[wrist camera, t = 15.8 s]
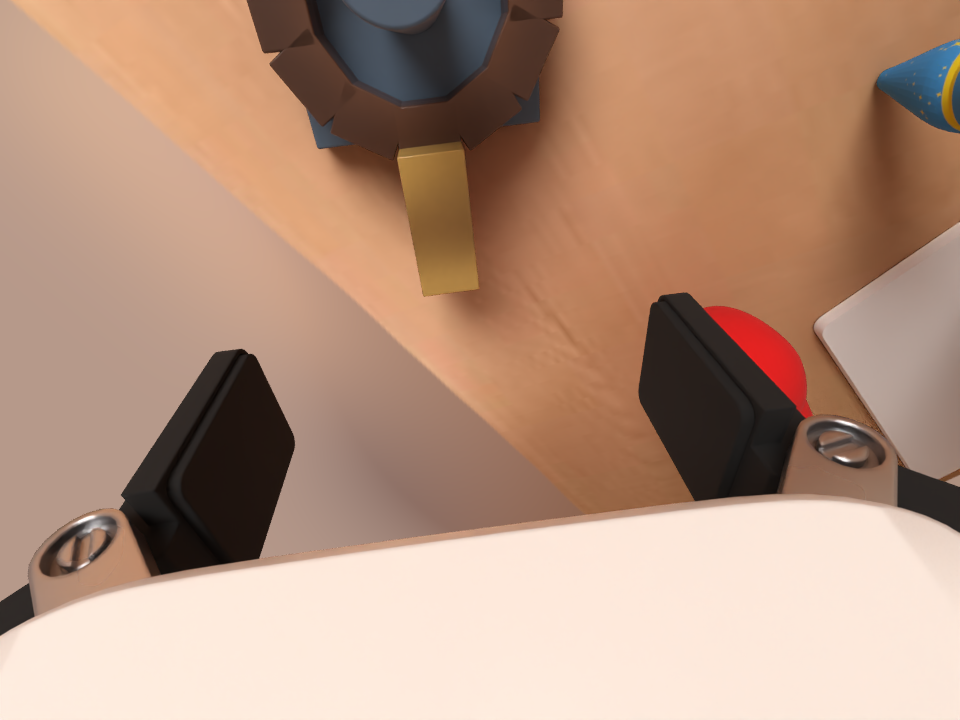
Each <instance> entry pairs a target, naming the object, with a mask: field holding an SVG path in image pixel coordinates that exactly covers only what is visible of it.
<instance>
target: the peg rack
mask: <svg viewBox="0 0 960 720" xmlns="http://www.w3.org/2000/svg"><path fill="white" fill-rule="evenodd" d="M316 2H317V6H318V10H319V14H320V19H321V23H322V27H323V31H324V35H325V36H326V38H327V39H328V40H329V42H330V43H331V44H332V46H333V47H334V48H335V50H336V51H337V52H338V54H339V55H340V56H341V58H342V59H343V60H344V61H345V63H346V64H347V65H348V67H349V68H350V69H351V71H352V72H353V73H354V75H355V76H356V77H357V79H358V80H359V81H361V82H363V83H365V84H367V85H369V86H372V87H374V88H376V89H378V90H380V91H382V92H384V93H386V94H388V95H390V96H392V97H394V98H397V99H399V100H401V101H410V100H418V99H426V98H434V97H442V96H447V95H448V94H449V93H450V92H451V91H452V90H454V89H455V88H456V87H457V86H458V85H459V84H461V83H462V82H463V81H464V80H465V79H466V78H467V77H469V76H470V75H471V74H472V73H473V72H474V71H476V70H477V69H478V68H479V67H480V66H481V65H482V63H483V61H484V58H485V55H486V53H487V50H488V48H489V45H490V42H491V40H492V37H493V34H494V32H495V29H496V26H497V24H498V21H499V19H500V16H501V1H500V0H316ZM514 96H515V97H516V99H517V101H518V103H519V104H520V106H521V108H522V110H521V111H519V112H518V113H517V114H516V115H514V116H513V117H512V118H511V119H509V120H508V121H507V122H506V123H504V124H503V125H502V126H509V125H518V124H526V123H534V122H539V121H540V99H539V77H538V80H537V82H536V84H535V87H534V89H533V91H532V93H531V96H530V98H529V100H528V101H526V100H524V99H522V98H520V97H518V96H516V95H514ZM307 112H308V116H309V119H310V123H311V127H312V130H313V134H314V137H315V141H316V144H317V147H318V149H323V148H331V147H339V146H348V145H356V144H354V143H351V142H349V141H347V140H345V139H342V138H340V137H338V136H335V135H333V134H331V128H332V124H333V119H334V118H333V119H332V120H330V121H329V122H328V123H327V124H326V125H325V126H323V127H322V126H321V125H320V124H319V123H318V121H317V120H316V119H315V118H314V117H313V116H312V114H311V113H310V112H309V111H308V110H307Z"/></svg>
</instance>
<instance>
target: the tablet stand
mask: <svg viewBox="0 0 960 720" xmlns="http://www.w3.org/2000/svg"><path fill="white" fill-rule="evenodd" d="M814 331H815V333H816V334H817V336H818V337H819V339H820V340H821V342H822V343H823V345H824V346H825V348H826V349H827V351H828V352H829V354H830V355H831V357H832V358H833V360H834V361H835V363H836V364H837V366H838V367H839V369H840V370H841V372H842V373H843V374H844V376H845V377H846V379H847V380H848V382H849V383H850V385H851V386H852V388H853V389H854V391H855V392H856V394H857V395H858V397H859V398H860V400H861V401H862V403H863V404H864V406H865V407H866V409H867V410H868V412H869V413H870V415H871V416H872V418H873V419H874V421H875V422H876V424H877V425H878V427H879V428H880V430H881V431H882V433H883V434H884V436H885V437H886V438H887V440H888V441H889V442H890V444H891V445H892V446H893V448H894V449H895V451H896V453H897V455H898V456H899V458H900V459H901V461H902V462H903V464H904V465H905V467H906V468H907V469H910V470H913V471H916V472H919V473H921V474H924V475H927V476H930V477H933V478H935V479H940V478H942V477H944V476H946V475H948V474H950V473H952V472H954V471H956V470H958V469H960V222H959V223H957V224H956V225H954V226H953V227H951V228H950V229H948V230H947V231H945V232H944V233H942V234H941V235H940V236H938V237H937V238H935V239H934V240H932V241H931V242H929V243H928V244H926V245H925V246H923V247H922V248H921V249H919V250H918V251H916V252H915V253H913V254H912V255H910V256H909V257H907V258H906V259H904V260H903V261H901V262H900V263H899V264H897V265H896V266H894V267H893V268H891V269H890V270H888V271H887V272H885V273H884V274H882V275H881V276H880V277H878V278H877V279H875V280H874V281H872V282H871V283H869V284H868V285H866V286H865V287H863V288H862V289H861V290H859V291H858V292H856V293H855V294H853V295H852V296H850V297H849V298H847V299H846V300H844V301H843V302H842V303H840V304H839V305H837V306H836V307H834V308H833V309H831V310H830V311H828V312H827V313H825V314H824V315H823V316H821V317H820V318H819V319H818V320H817V321H816V322H815V324H814Z"/></svg>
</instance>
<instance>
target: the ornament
mask: <svg viewBox="0 0 960 720" xmlns="http://www.w3.org/2000/svg"><path fill="white" fill-rule="evenodd" d="M877 86H878V88H879V89H880V90H882V91H883V92H885V93H886V94H887V95H889V96H890V97H892V98H893V99H894V100H896V101H897V102H898V103H900V104H901V105H902V106H904V107H905V108H906V109H908V110H909V111H910V112H912V113H913V114H914V115H916V116H917V117H919V118H920V119H921V120H923V121H925V122H926V123H928V124H930V125H932V126H934V127H936V128H938V129H942V130H945V131H948V132H954V133H960V39H958V40H954V41H951V42H948V43H945V44H943V45H941V46H938V47H936V48H934V49H932V50H929V51H927V52H925V53H923V54H921V55H919V56H917V57H914V58H912V59H910V60H908V61H906V62H904V63H901V64H899V65H897V66H894V67H892V68H889V69H887V70H885V71H883V72H882V73H881V74H880V76H879V77H878V80H877Z"/></svg>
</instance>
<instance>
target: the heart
mask: <svg viewBox="0 0 960 720" xmlns="http://www.w3.org/2000/svg"><path fill="white" fill-rule="evenodd" d="M703 309H704V310H705V311H706V312H707V313H708V314H709V315H710V316H711V317H712V318H713V319H714V320H715V321H716V322H717V324H718V325H719V326H720V327H721V328H722V329H723V330H724V331H725V332H726V333H727V334H728V335H729V336H730V337H731V338H732V339H733V340H734V341H735V342H736V343H737V344H738V345H739V346H740V348H741V349H742V350H743V351H744V352H745V353H746V354H747V355H748V356H749V357H750V358H751V359H752V360H753V361H754V362H755V363H756V364H757V365H758V366H759V367H760V368H761V369H762V370H763V372H764V373H765V374H766V375H767V376H768V377H769V378H770V379H771V380H772V381H773V382H774V383H775V384H776V385H777V386H778V387H779V388H780V389H781V390H782V391H783V392H784V393H785V394H786V396H787V397H788V398H789V399H790V400H791V401H792V402H793V403H794V404H795V405H796V406H797V407H796V409H797V410H798V411H799V412H800V413H801V414H802V415H803V416H804V417H805V418H808V417H811V416H813V414H812V412H811V410H810V407H809V405H808V403H807V400H806V394H807V383H806V375H805V371H804V367H803V364H802V362H801V359H800V357H799V355H798V354H797V352H796V351H795V349H794V348H793V347H792V346H791V344H790V343H789V342H788V341H787V340H786V339H785V338H784V337H782V336H781V335H780V334H779V333H778V332H777V331H775V330H774V329H773V328H771V327H770V326H769V325H767V324H766V323H764V322H763V321H761V320H759V319H758V318H756V317H754V316H752V315H750V314H748V313H746V312H743V311H741V310H738V309H734V308H730V307H724V306H712V307H706V308H703Z"/></svg>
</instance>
